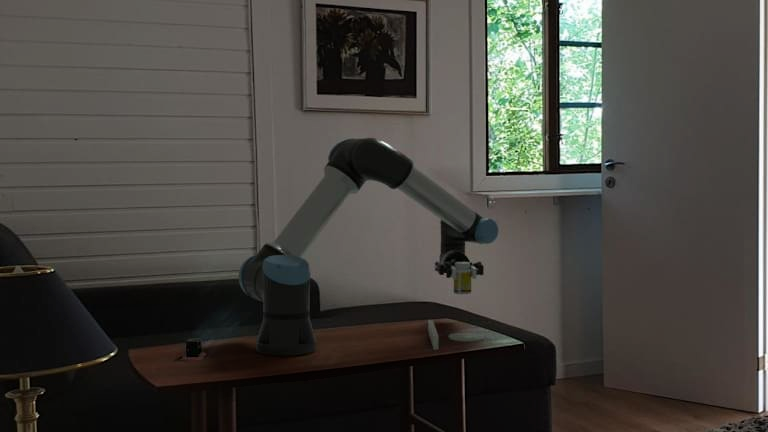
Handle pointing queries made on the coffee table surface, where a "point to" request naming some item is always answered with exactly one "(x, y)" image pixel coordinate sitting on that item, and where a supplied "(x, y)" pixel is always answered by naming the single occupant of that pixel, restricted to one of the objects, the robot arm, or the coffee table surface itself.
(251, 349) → the coffee table surface
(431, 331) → the low wall
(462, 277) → the supplement bottle
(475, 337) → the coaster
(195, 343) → the black block
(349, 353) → the coffee table surface
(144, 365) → the coffee table surface
